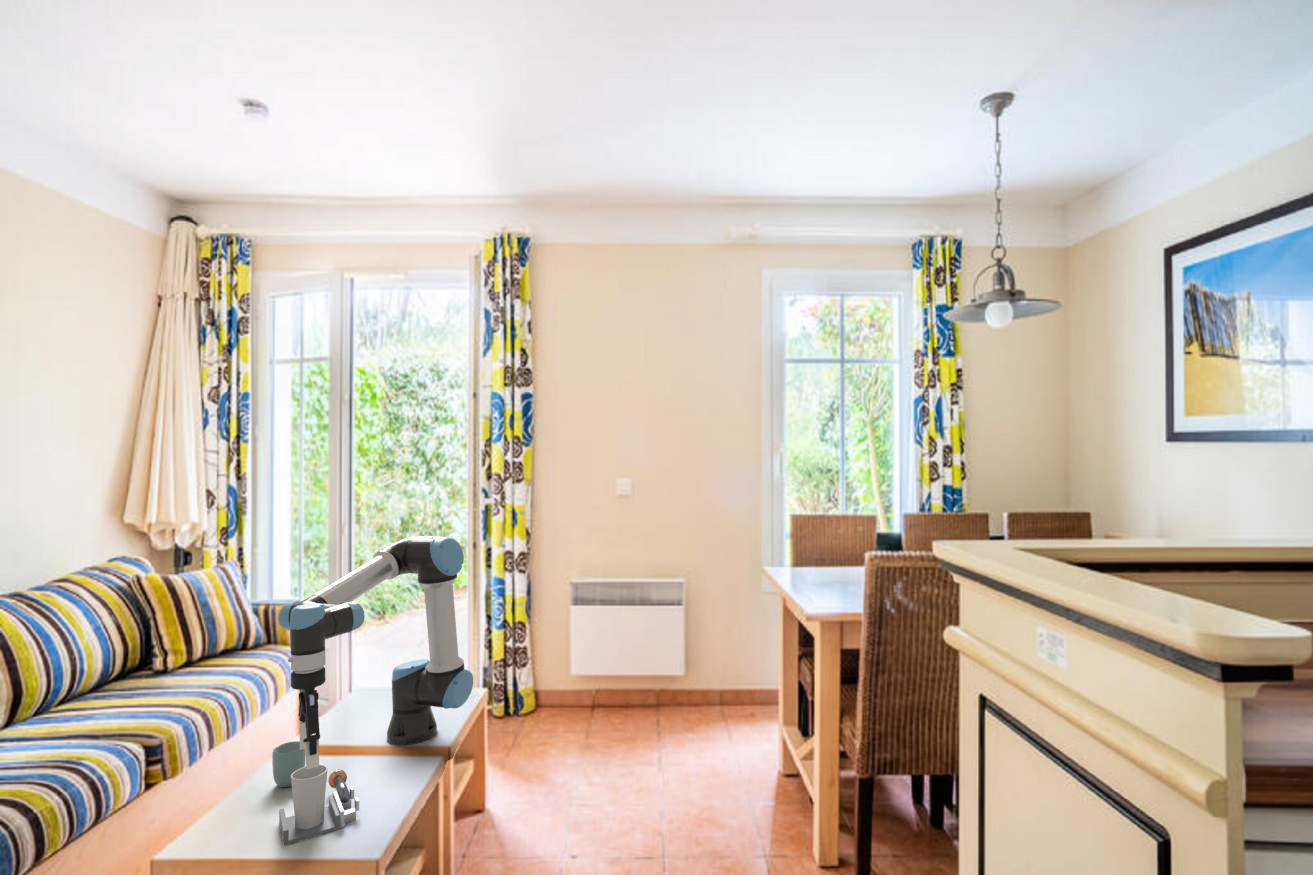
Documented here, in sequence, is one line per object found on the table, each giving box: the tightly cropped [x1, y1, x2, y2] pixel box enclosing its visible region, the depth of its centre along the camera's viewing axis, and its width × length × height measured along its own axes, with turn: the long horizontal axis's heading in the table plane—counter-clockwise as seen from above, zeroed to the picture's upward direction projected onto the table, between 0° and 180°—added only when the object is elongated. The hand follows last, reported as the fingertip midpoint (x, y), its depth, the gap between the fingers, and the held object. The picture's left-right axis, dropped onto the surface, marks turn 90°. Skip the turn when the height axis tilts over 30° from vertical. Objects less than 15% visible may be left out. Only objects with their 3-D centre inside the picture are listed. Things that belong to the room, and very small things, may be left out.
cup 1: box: [271, 740, 306, 788], centre depth 183 cm, size 8×8×10 cm
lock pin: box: [327, 769, 351, 803], centre depth 173 cm, size 13×4×4 cm, turn 34°
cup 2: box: [291, 764, 329, 829], centre depth 161 cm, size 8×8×12 cm
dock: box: [278, 794, 342, 847], centre depth 161 cm, size 12×12×3 cm
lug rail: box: [332, 785, 360, 829], centre depth 166 cm, size 4×12×4 cm, turn 34°
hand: (309, 757), depth 162 cm, fingers open, 12 cm apart
